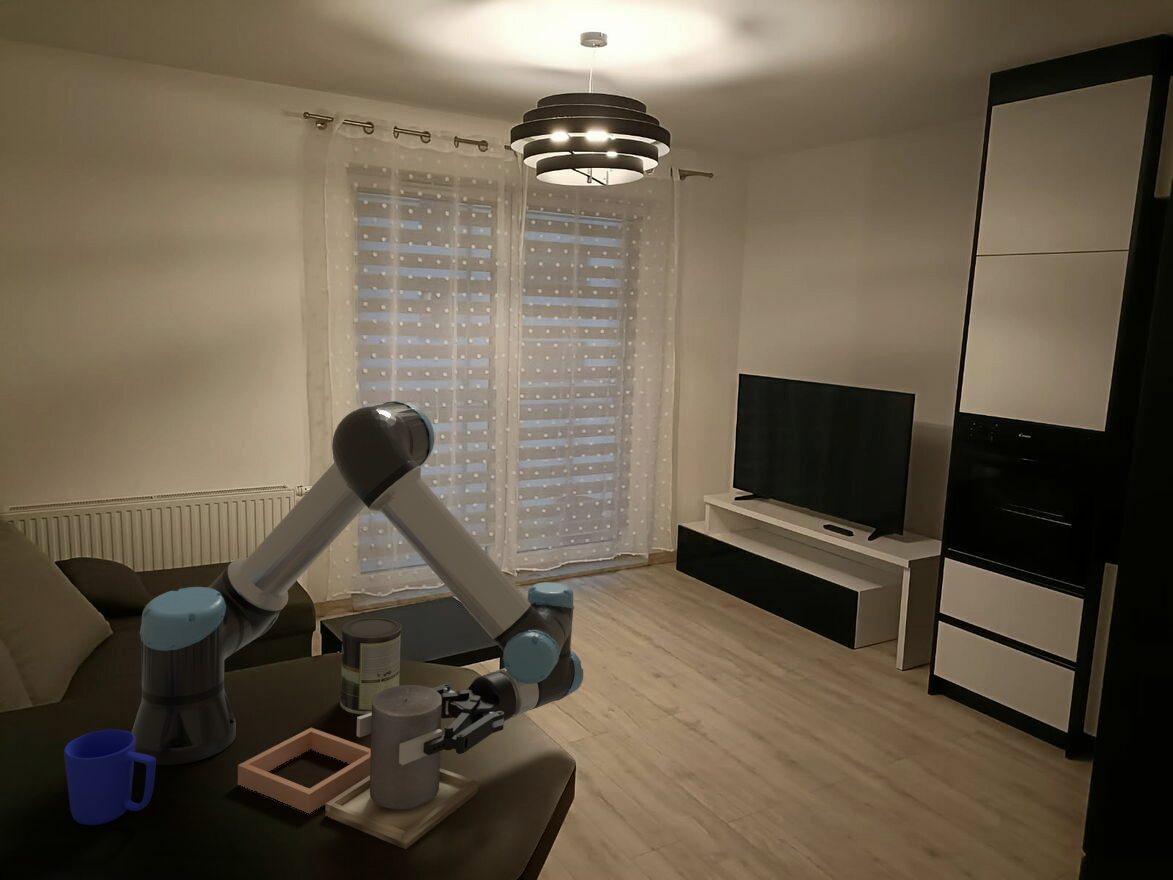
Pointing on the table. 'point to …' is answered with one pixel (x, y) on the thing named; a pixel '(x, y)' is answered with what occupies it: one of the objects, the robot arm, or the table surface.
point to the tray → (400, 810)
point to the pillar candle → (397, 722)
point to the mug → (104, 776)
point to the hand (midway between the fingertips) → (379, 740)
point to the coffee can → (368, 661)
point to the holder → (300, 797)
